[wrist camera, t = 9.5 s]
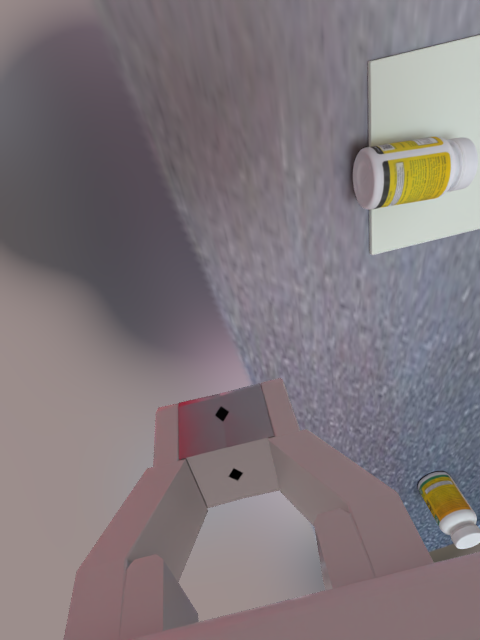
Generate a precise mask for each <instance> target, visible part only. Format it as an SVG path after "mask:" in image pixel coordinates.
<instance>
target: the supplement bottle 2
mask: <svg viewBox="0 0 480 640" xmlns="http://www.w3.org/2000/svg"><path fill="white" fill-rule="evenodd" d="M418 490H419V492H420V494H421V495H422V497H423V499H424V501H425V502H426V504H427V506H428V508H429V509H430V511H431V513H432V515H433V517H434V518H435V520H436V522H437V524H438V525H439V527H440V529H441V530H442V531H443V532H444V533H446V534H448V535H451V539H452V541H453V542H454V544H455V545H456V547H457V548H459V549H466V548H470V547H473V546H475V545H477V544H478V543H480V529H479V527H478V526H477V525H475V524H476V521H477V518H476V514H475V513H474V511H473V510H472V508H471V507H470V505H469V504H468V502H467V501H466V499H465V498H464V496H463V495H462V493H461V492H460V490H459V488H458V487H457V485H456V484H455V482H454V481H453V479H452V478H451V476H450V475H449V474H447V473H445V472H434V473H430V474H428V475H426V476H425V477H424V478H422V479H421V480H420V482H419V484H418Z"/></svg>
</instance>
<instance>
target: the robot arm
mask: <svg viewBox="0 0 480 640" xmlns="http://www.w3.org/2000/svg"><path fill="white" fill-rule="evenodd" d="M279 490H280V491H281V493H282V494H283V495H284V496H285V497H286V498H287V499H288V500H289V501H290V502H291V503H292V504H293V505H294V506H295V507H296V508H297V509H298V510H299V511H300V512H301V513H302V514H303V515H304V517H305V518H306V519H307V520H308V521H309V522H310V523H311V524H312V525H313V526H314V527H315V534H316V540H317V546H318V552H319V558H320V564H321V571H322V577H323V582H324V586H325V590H324V591H321V592H317V593H313V594H309V595H305V596H301V597H297V598H293V599H289V600H285V601H281V602H277V603H273V604H269V605H265V606H261V607H257V608H253V609H249V610H245V611H241V612H237V613H234V614H229V615H225V616H221V617H217V618H213V619H209V620H205V621H201V622H198V613H197V611H196V610H195V608H194V607H193V605H192V604H191V602H190V600H189V599H188V597H187V596H186V594H185V593H184V591H183V589H182V588H181V586H180V585H179V583H178V582H179V579H180V577H181V575H182V572H183V570H184V567H185V565H186V562H187V560H188V558H189V555H190V553H191V551H192V548H193V546H194V543H195V541H196V538H197V536H198V534H199V531H200V529H201V526H202V524H203V522H204V519H205V517H206V514H207V512H208V510H207V508H210V507H214V506H217V505H221V504H225V503H228V502H232V501H235V500H239V499H242V498H247V497H252V496H256V495H260V494H265V493H270V492H274V491H279ZM64 640H480V552H476V553H472V554H468V555H464V556H460V557H456V558H452V559H448V560H444V561H440V562H436V563H434V562H433V560H432V558H431V557H430V555H429V553H428V551H427V549H426V547H425V545H424V543H423V541H422V539H421V537H420V535H419V533H418V531H417V529H416V528H415V526H414V524H413V522H412V520H411V518H410V516H409V514H408V512H407V510H406V508H405V506H404V504H403V502H402V500H401V499H400V497H399V495H398V493H397V492H396V491H394V490H393V489H392V488H390V487H389V486H387V485H386V484H384V483H383V482H382V481H380V480H379V479H377V478H376V477H374V476H373V475H372V474H370V473H369V472H367V471H366V470H364V469H363V468H362V467H360V466H359V465H357V464H356V463H354V462H353V461H352V460H350V459H349V458H347V457H346V456H344V455H343V454H342V453H340V452H339V451H337V450H336V449H334V448H333V447H332V446H330V445H329V444H327V443H326V442H324V441H323V440H322V439H320V438H319V437H317V436H316V435H314V434H313V433H312V432H310V431H309V430H307V429H306V430H301V431H300V428H299V425H298V422H297V419H296V416H295V414H294V411H293V408H292V405H291V402H290V399H289V396H288V393H287V390H286V388H285V385H284V382H283V380H282V379H281V378H278V379H274V380H270V381H266V382H262V383H261V385H260V383H259V384H255V385H251V386H247V387H243V388H239V389H236V390H231V391H228V392H224V393H220V394H217V395H212V396H207V397H203V398H198V399H194V400H189V401H185V402H181V403H178V404H173V405H169V406H164V407H159V408H158V410H157V412H156V420H155V441H154V461H153V467H151V468H148V469H147V470H146V471H145V472H144V474H143V475H142V477H141V478H140V480H139V481H138V482H137V484H136V485H135V487H134V488H133V490H132V491H131V493H130V494H129V496H128V497H127V499H126V500H125V501H124V503H123V504H122V506H121V507H120V509H119V510H118V512H117V513H116V515H115V516H114V517H113V519H112V521H111V522H110V523H109V525H108V526H107V528H106V529H105V531H104V532H103V534H102V535H101V536H100V538H99V540H98V541H97V542H96V544H95V545H94V547H93V548H92V550H91V551H90V553H89V554H88V556H87V557H86V559H85V560H84V561H83V563H82V564H81V566H80V567H79V569H78V570H77V572H76V577H75V582H74V588H73V593H72V598H71V603H70V608H69V614H68V619H67V624H66V629H65V635H64Z"/></svg>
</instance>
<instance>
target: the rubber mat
mask: <svg viewBox="0 0 480 640" xmlns="http://www.w3.org/2000/svg"><path fill="white" fill-rule="evenodd" d="M368 132H369V147H372V146H378V145H384V144H390V143H396V142H403V141H409V140H415V139H422V138H428V137H436V136H437V137H442V138H444V139H445V140H447V139H451V138H461V137H465V138H468V139H470V140H471V141H472V142H473V143H474V145H475V147H476V150H477V154H478V167H477V172H476V175H475V177H474V179H473V181H472V182H471V184H470V185H469V186H467V187H466V188H464V189H460V190H455V191H451V192H446V193H445V194H444V195H442V196H441V197H438V198H435V199H429V200H424V201H418V202H412V203H406V204H400V205H394V206H388V207H382V208H377V209H369V236H370V254H371V255H375V254H379V253H383V252H387V251H391V250H395V249H399V248H403V247H407V246H411V245H415V244H419V243H423V242H428V241H432V240H436V239H440V238H444V237H448V236H452V235H456V234H460V233H464V232H468V231H472V230H476V229H480V35H476V36H472V37H468V38H464V39H460V40H455V41H451V42H447V43H443V44H439V45H435V46H430V47H426V48H422V49H418V50H414V51H410V52H406V53H401V54H397V55H393V56H389V57H385V58H381V59H377V60H372V61H368Z"/></svg>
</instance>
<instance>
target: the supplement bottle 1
mask: <svg viewBox="0 0 480 640" xmlns="http://www.w3.org/2000/svg"><path fill="white" fill-rule="evenodd" d="M477 167H478V154H477V150H476V147H475V145H474V143H473V142H472V141H471V140H470V139H468V138H465V137H461V138H451V139H447V140H445V139H444V138H442V137H437V136H436V137H428V138H422V139H415V140H409V141H403V142H396V143H390V144H384V145H378V146H372V147H366V148H363V149H361V150H360V151H359V153H358V155H357V156H356V159H355V162H354V167H353V186H354V191H355V195H356V198H357V201H358V203H359V204H360V206H361V207H363V208H364V209H377V208H382V207H388V206H394V205H400V204H406V203H412V202H418V201H424V200H429V199H435V198H438V197H441V196H442V195H444V194H445V193H446V192H451V191H455V190H460V189H464V188H466V187H467V186H469V185H470V184H471V182H472V181H473V179H474V177H475V175H476V172H477Z"/></svg>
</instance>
